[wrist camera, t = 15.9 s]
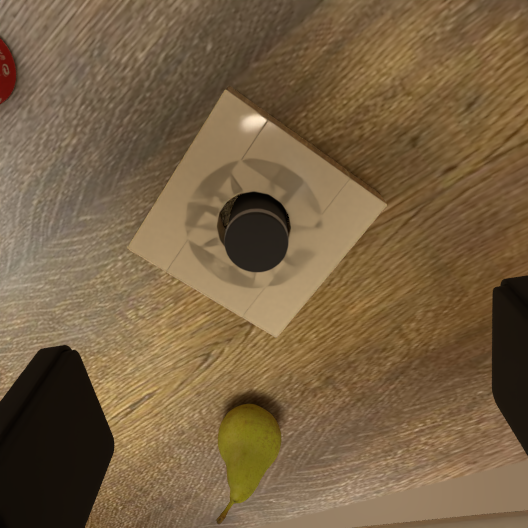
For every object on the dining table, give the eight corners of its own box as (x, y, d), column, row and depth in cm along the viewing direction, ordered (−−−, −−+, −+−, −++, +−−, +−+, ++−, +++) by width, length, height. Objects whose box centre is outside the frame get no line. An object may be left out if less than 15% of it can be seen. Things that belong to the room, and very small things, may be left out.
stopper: (219, 222, 40) (211, 251, 34) (250, 177, 38) (247, 200, 33) (265, 251, 41) (264, 284, 35) (298, 208, 39) (302, 236, 34)
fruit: (292, 418, 48) (297, 530, 37) (244, 444, 49) (235, 558, 39) (258, 379, 46) (253, 484, 35) (208, 406, 48) (189, 516, 37)
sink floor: (136, 234, 40) (126, 248, 38) (229, 85, 35) (225, 89, 33) (276, 319, 43) (276, 338, 41) (379, 193, 38) (387, 205, 36)
